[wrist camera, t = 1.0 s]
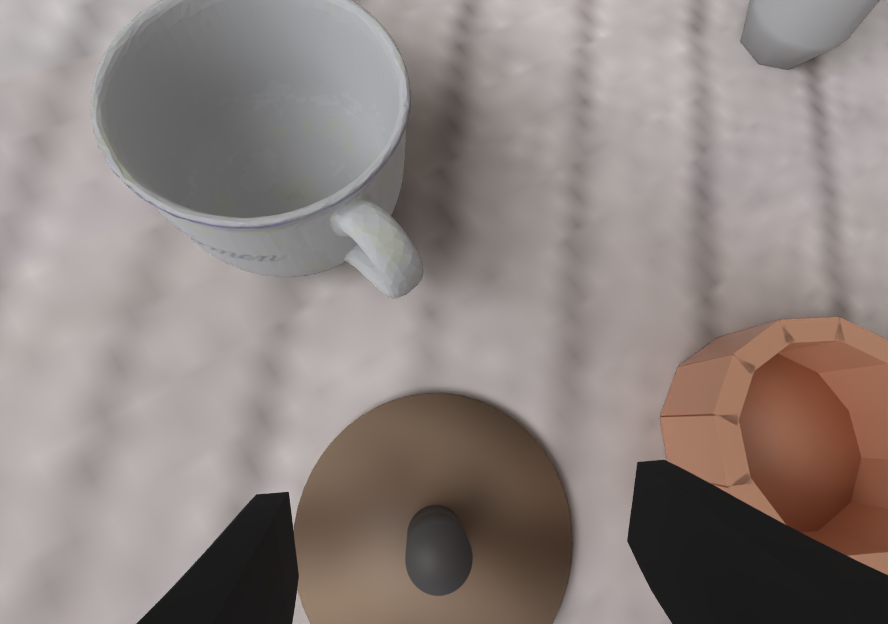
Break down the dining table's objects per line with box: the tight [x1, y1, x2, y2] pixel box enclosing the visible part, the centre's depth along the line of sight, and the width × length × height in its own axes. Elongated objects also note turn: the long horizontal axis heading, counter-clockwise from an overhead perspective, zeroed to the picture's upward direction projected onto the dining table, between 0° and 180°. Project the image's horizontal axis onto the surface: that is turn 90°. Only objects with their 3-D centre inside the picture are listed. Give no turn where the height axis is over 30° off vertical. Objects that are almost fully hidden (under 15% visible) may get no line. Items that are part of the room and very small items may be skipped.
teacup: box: [91, 0, 423, 298], centre depth 19 cm, size 14×11×8 cm
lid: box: [294, 393, 573, 624], centre depth 18 cm, size 12×12×4 cm
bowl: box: [660, 317, 888, 575], centre depth 20 cm, size 10×10×4 cm
